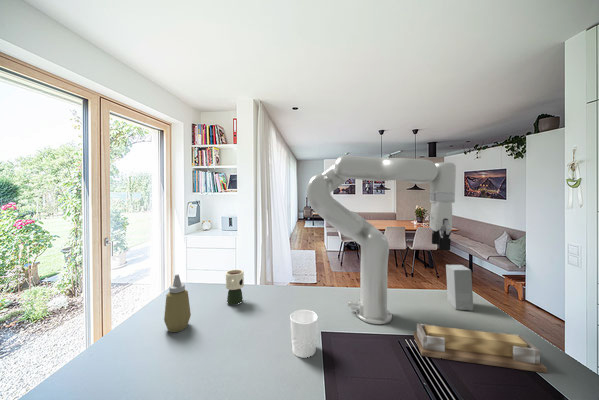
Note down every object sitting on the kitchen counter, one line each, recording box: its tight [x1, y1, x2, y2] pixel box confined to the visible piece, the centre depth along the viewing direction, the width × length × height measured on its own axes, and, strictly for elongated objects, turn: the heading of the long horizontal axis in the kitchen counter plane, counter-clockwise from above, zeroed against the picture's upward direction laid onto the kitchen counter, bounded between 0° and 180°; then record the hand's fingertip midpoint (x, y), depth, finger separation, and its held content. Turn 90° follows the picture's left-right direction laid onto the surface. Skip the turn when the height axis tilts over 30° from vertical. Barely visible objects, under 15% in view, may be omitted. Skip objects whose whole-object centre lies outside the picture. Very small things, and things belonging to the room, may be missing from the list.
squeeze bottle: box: [163, 273, 192, 333], centre depth 82 cm, size 8×8×18 cm
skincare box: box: [445, 264, 474, 311], centre depth 97 cm, size 8×7×16 cm
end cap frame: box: [412, 323, 548, 374], centre depth 69 cm, size 29×10×5 cm, turn 77°
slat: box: [425, 324, 527, 357], centre depth 69 cm, size 24×4×4 cm, turn 77°
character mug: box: [225, 269, 245, 305], centre depth 100 cm, size 11×7×13 cm, turn 6°
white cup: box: [289, 309, 319, 359], centre depth 70 cm, size 8×8×10 cm
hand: (440, 246), depth 85 cm, fingers open, 9 cm apart
